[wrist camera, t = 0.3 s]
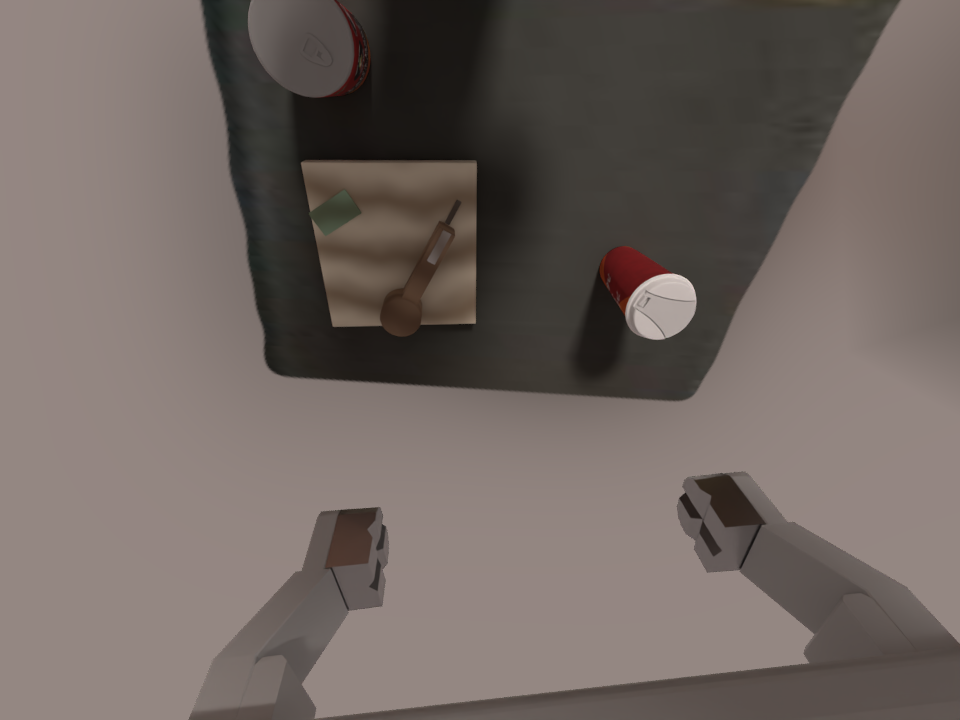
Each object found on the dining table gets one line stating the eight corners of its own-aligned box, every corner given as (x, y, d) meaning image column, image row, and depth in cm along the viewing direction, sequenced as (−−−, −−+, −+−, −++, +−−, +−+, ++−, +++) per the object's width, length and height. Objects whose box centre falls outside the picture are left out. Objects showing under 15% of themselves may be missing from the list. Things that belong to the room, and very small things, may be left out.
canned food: (364, 107, 46) (344, 112, 36) (285, 78, 44) (243, 75, 34) (379, 21, 42) (361, 2, 33) (293, -15, 40) (249, -46, 31)
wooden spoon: (411, 329, 57) (410, 342, 54) (377, 313, 56) (373, 326, 53) (465, 235, 51) (466, 244, 48) (427, 213, 49) (426, 221, 46)
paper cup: (580, 279, 58) (615, 328, 46) (613, 227, 54) (661, 266, 43) (625, 301, 60) (670, 353, 49) (660, 253, 57) (717, 297, 45)
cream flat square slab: (303, 159, 48) (297, 162, 46) (475, 160, 49) (477, 163, 47) (334, 320, 58) (330, 327, 57) (474, 316, 60) (475, 324, 58)
